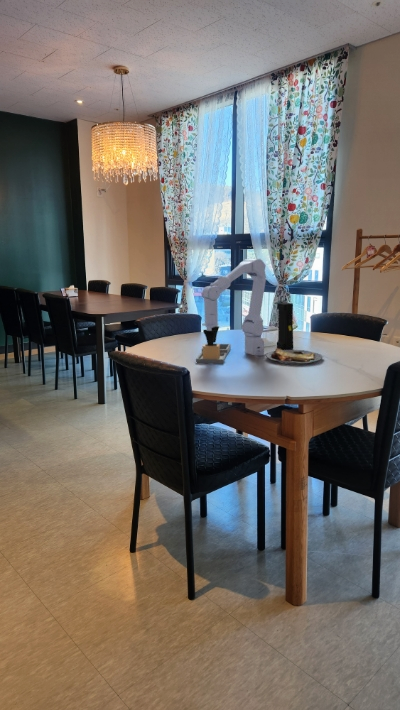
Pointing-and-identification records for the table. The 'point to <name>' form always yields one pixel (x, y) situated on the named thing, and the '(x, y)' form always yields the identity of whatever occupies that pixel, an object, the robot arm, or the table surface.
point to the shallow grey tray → (214, 361)
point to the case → (224, 348)
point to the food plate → (293, 356)
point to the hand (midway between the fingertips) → (211, 344)
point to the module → (211, 351)
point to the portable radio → (285, 326)
